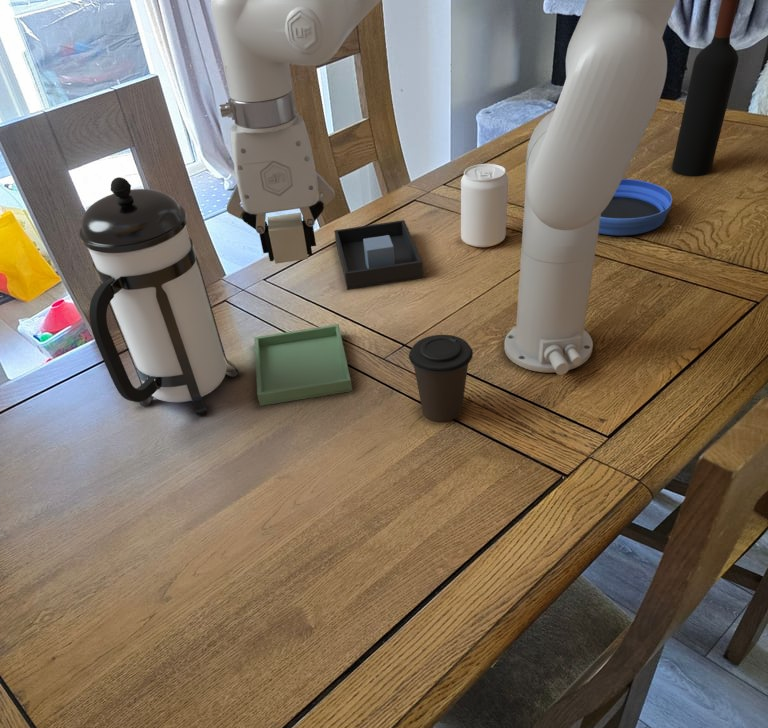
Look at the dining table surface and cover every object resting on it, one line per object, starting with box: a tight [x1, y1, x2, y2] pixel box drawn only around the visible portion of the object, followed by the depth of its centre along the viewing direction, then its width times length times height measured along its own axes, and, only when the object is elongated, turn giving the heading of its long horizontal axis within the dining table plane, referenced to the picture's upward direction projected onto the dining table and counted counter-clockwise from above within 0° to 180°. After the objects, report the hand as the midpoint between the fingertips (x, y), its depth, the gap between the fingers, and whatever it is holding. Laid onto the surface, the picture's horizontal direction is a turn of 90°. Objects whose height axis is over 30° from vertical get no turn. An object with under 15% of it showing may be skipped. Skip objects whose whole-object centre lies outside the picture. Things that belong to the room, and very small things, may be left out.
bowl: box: [598, 178, 673, 237], centre depth 128 cm, size 18×18×4 cm
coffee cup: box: [408, 334, 474, 423], centre depth 90 cm, size 8×8×10 cm
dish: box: [253, 323, 353, 407], centre depth 103 cm, size 15×13×2 cm
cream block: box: [267, 212, 309, 265], centre depth 95 cm, size 5×5×5 cm
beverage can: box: [460, 163, 509, 248], centre depth 123 cm, size 8×8×12 cm
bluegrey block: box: [363, 235, 395, 269], centre depth 121 cm, size 5×5×5 cm
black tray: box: [334, 219, 424, 290], centre depth 124 cm, size 17×13×3 cm
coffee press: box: [79, 177, 239, 416], centre depth 90 cm, size 17×16×30 cm
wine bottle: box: [671, 0, 739, 177], centre depth 131 cm, size 8×8×30 cm
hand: (290, 252), depth 97 cm, fingers closed on cream block, 4 cm apart
